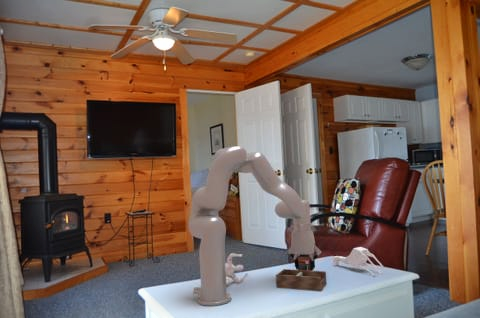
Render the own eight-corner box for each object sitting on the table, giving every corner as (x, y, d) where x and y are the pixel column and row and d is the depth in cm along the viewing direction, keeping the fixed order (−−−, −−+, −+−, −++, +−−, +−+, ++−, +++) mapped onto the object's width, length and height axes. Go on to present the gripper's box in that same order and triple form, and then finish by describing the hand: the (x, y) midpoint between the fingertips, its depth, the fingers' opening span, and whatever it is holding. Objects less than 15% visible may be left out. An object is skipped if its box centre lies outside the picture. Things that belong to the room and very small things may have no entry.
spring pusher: (295, 284, 147) (294, 276, 147) (300, 279, 154) (300, 272, 154) (297, 285, 146) (297, 276, 147) (302, 280, 153) (302, 272, 153)
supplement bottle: (312, 279, 159) (310, 252, 159) (298, 279, 160) (296, 252, 160) (312, 275, 164) (310, 249, 165) (298, 275, 166) (297, 249, 166)
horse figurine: (375, 293, 162) (336, 262, 183) (385, 260, 158) (343, 233, 178) (368, 295, 160) (328, 264, 180) (377, 262, 155) (335, 234, 176)
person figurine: (212, 265, 148) (241, 249, 161) (193, 268, 156) (222, 253, 170) (222, 296, 147) (251, 278, 160) (203, 298, 155) (231, 280, 169)
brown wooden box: (276, 287, 149) (275, 275, 149) (284, 281, 158) (283, 269, 158) (321, 291, 141) (320, 277, 141) (326, 283, 150) (325, 271, 150)
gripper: (281, 229, 164) (283, 270, 163) (319, 229, 156) (322, 272, 155) (286, 226, 170) (288, 266, 169) (323, 226, 163) (326, 268, 162)
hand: (304, 268), depth 162 cm, fingers closed on supplement bottle, 6 cm apart
